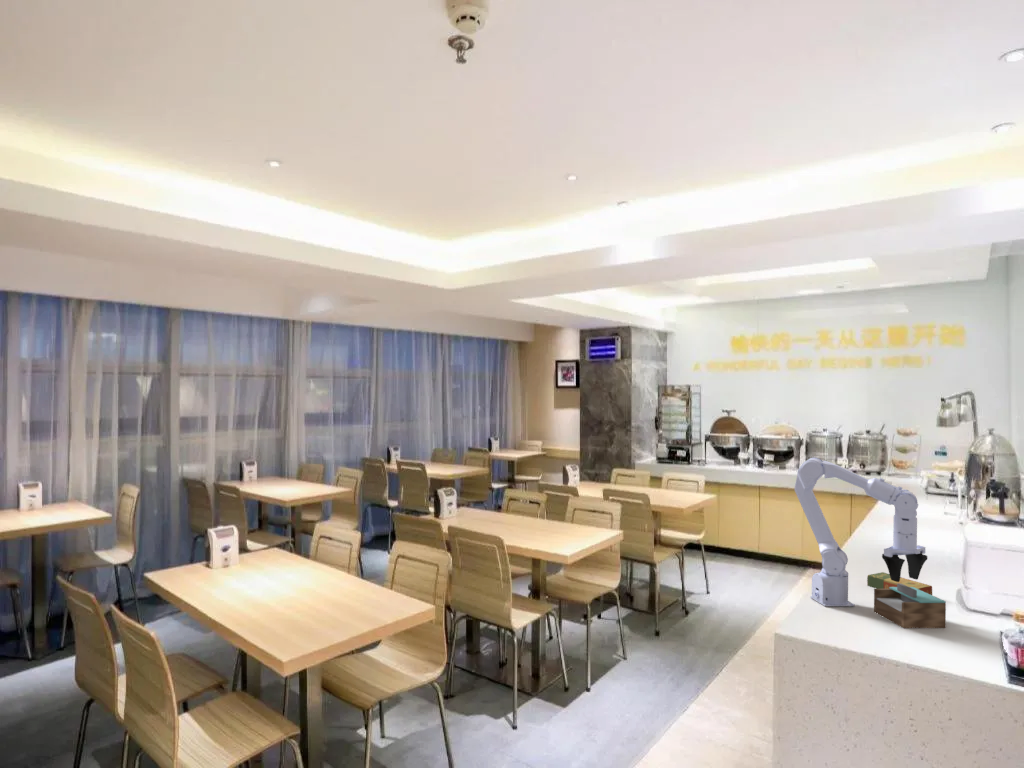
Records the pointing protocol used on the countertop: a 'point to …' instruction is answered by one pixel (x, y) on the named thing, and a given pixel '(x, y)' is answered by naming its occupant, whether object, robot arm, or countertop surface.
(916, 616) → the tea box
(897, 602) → the lower lid
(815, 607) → the countertop surface
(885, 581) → the carton
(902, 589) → the upper lid
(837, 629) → the countertop surface
